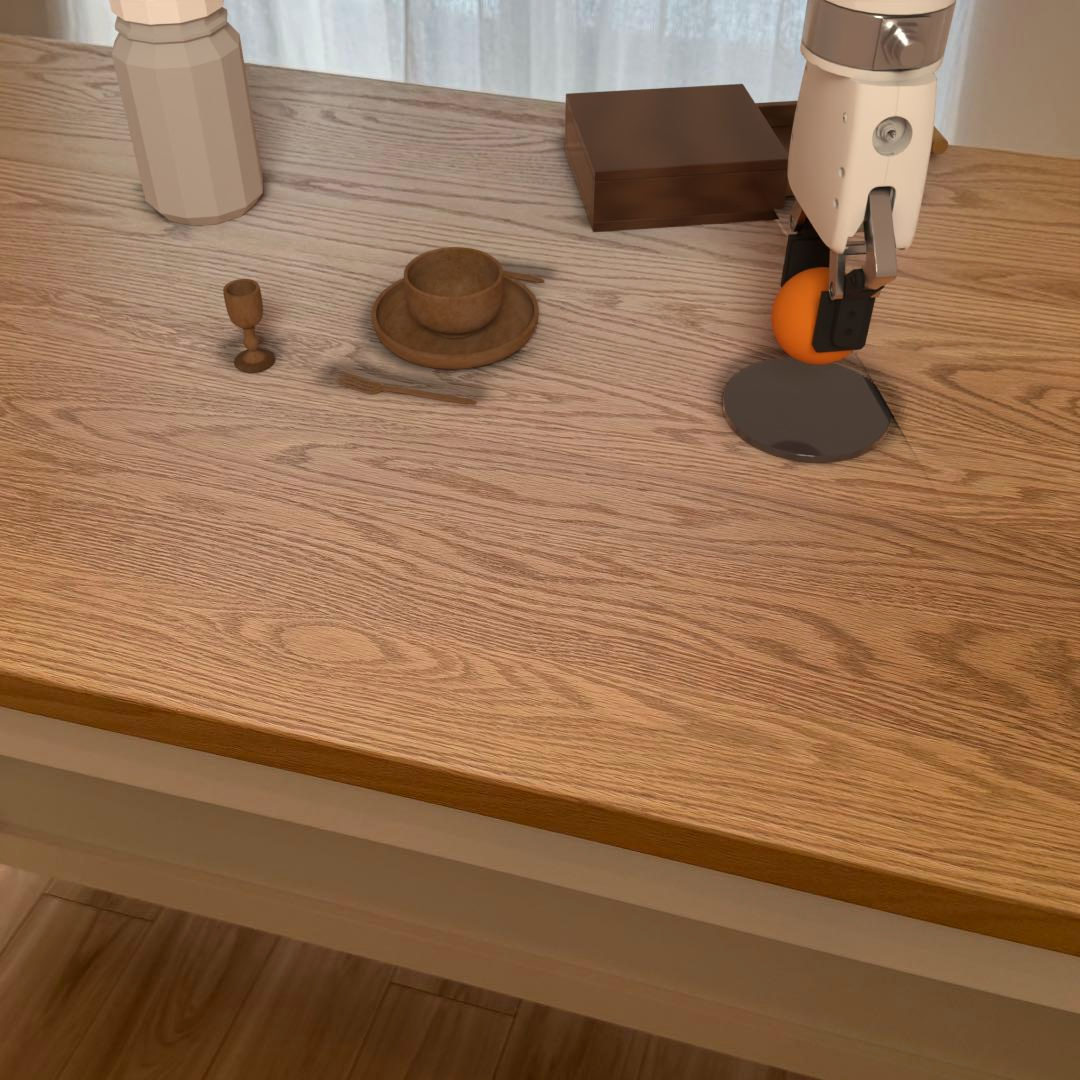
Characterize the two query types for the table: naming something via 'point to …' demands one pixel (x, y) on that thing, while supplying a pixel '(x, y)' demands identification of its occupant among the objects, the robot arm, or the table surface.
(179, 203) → the jar
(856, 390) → the coaster
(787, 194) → the drawer
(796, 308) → the orange
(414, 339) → the place setting
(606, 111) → the cabinet
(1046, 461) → the table surface
